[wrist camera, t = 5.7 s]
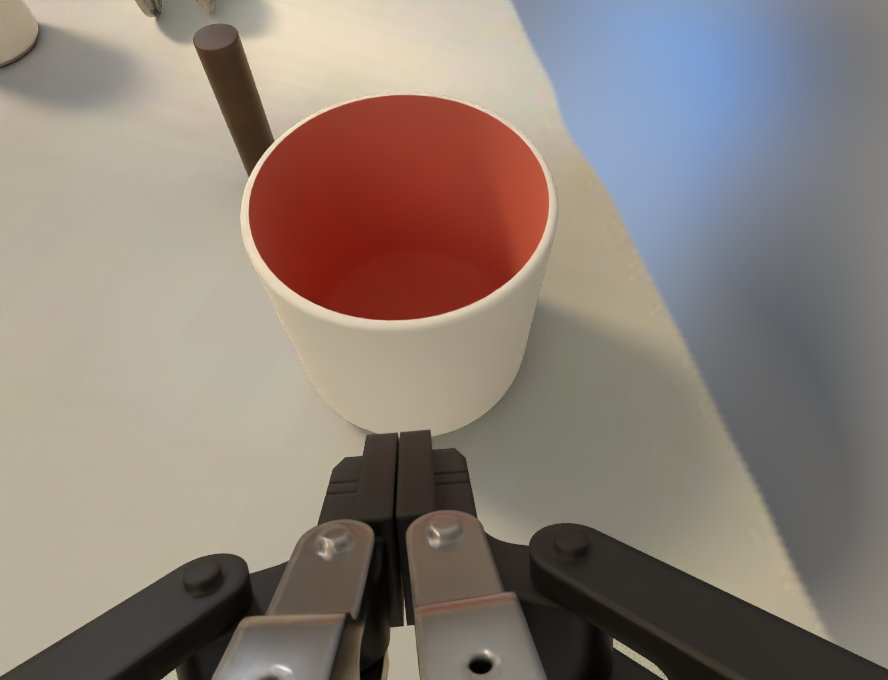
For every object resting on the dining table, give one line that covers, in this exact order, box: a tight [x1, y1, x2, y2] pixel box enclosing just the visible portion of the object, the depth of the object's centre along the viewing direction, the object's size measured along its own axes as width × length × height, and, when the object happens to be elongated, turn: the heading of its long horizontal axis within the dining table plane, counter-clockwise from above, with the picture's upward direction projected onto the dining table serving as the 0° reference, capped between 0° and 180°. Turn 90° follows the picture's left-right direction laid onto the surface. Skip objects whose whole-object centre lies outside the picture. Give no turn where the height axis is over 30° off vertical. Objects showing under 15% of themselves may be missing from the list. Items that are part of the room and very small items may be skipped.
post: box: [193, 24, 275, 177], centre depth 29 cm, size 2×2×8 cm
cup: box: [240, 92, 558, 438], centre depth 22 cm, size 10×10×10 cm
